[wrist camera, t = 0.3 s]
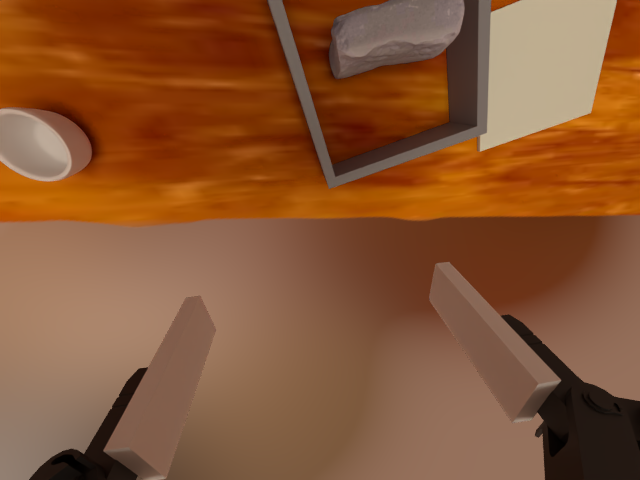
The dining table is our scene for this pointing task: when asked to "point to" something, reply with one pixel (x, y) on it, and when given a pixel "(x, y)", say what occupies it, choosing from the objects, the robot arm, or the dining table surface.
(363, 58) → the stone block
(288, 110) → the dining table surface
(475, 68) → the access frame
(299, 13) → the dining table surface
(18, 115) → the teacup
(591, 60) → the board
